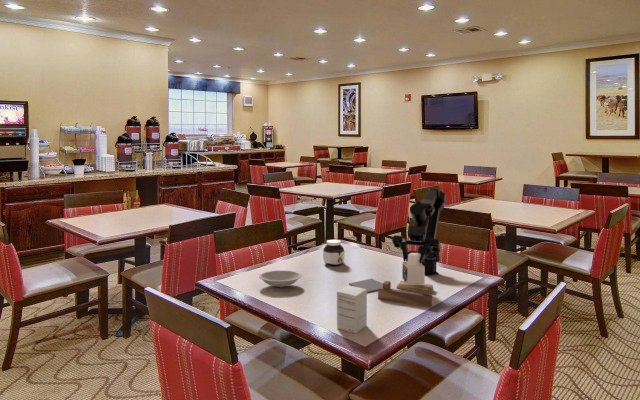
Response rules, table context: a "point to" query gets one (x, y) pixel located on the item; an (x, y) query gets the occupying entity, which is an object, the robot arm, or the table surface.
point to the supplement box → (351, 309)
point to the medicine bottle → (413, 269)
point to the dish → (280, 278)
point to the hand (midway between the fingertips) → (412, 262)
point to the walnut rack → (405, 295)
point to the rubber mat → (368, 285)
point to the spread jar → (333, 253)
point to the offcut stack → (414, 286)
